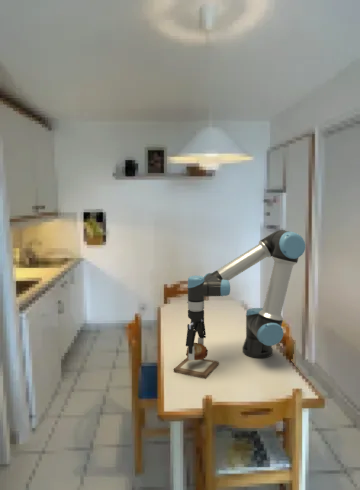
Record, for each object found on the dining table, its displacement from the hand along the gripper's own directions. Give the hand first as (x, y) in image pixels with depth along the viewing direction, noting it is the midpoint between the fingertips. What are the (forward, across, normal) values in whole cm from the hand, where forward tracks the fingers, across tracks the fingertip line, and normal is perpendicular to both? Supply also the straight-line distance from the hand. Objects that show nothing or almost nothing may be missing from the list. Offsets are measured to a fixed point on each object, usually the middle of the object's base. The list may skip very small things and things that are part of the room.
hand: (196, 355), depth 177 cm
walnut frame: (+6, 0, 0) cm, 6 cm away
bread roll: (+1, 0, 0) cm, 1 cm away
